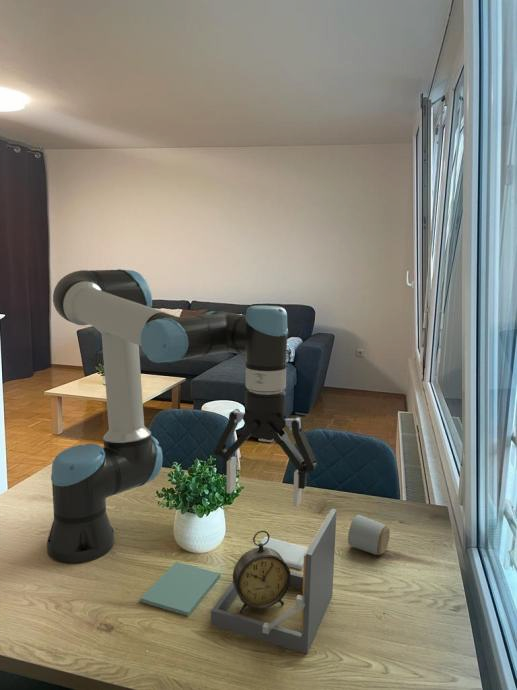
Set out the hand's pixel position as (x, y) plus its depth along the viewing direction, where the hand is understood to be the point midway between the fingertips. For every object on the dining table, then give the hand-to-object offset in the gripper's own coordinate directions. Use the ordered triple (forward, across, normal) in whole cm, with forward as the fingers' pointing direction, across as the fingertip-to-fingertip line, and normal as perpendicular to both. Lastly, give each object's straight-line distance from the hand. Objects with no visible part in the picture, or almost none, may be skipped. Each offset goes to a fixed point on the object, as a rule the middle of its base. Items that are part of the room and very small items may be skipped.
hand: (263, 497), depth 104 cm
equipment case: (+23, +3, 0) cm, 23 cm away
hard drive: (+24, -2, +20) cm, 31 cm away
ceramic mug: (+24, +16, +31) cm, 42 cm away
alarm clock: (+23, 0, 0) cm, 23 cm away
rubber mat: (+23, -17, -1) cm, 29 cm away
